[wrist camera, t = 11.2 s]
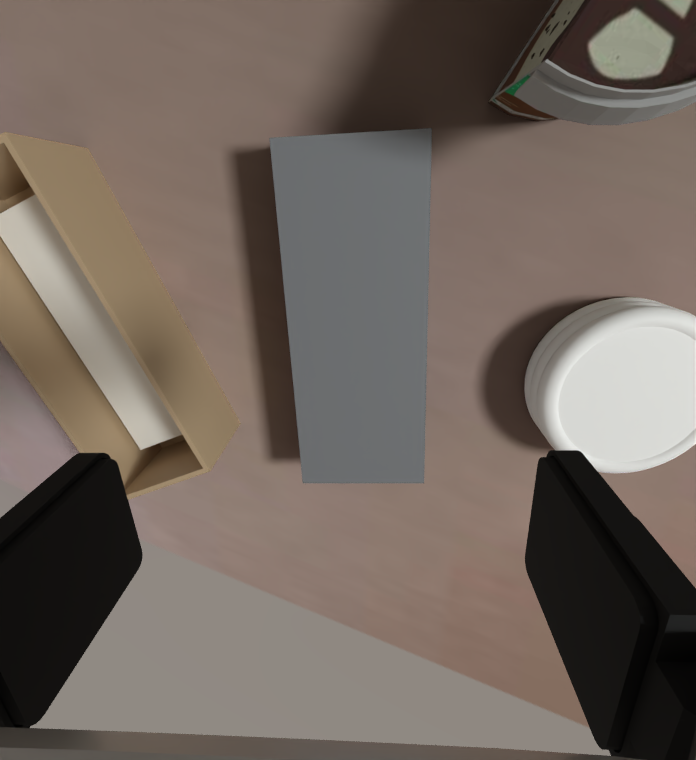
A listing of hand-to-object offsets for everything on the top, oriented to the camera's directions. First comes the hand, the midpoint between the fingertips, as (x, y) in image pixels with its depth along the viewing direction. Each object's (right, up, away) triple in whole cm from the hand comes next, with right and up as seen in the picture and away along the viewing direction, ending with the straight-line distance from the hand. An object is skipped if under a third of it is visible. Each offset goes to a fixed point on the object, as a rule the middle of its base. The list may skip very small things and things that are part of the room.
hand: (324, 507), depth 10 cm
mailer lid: (+1, +6, +17) cm, 18 cm away
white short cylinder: (+16, +3, +18) cm, 24 cm away
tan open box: (-13, +7, +18) cm, 23 cm away
